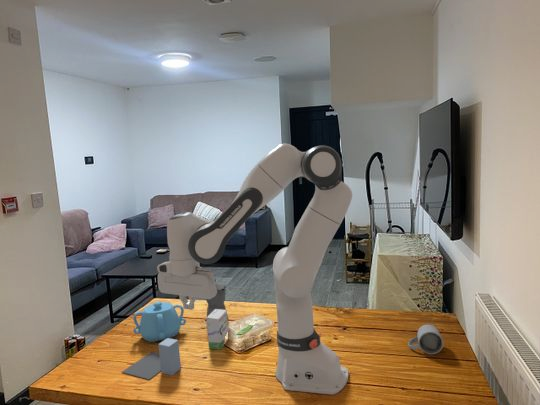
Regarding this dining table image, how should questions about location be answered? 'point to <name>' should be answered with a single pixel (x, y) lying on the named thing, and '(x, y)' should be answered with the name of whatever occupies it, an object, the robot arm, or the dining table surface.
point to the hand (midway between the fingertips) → (189, 308)
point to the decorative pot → (159, 321)
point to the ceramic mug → (427, 340)
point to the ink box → (217, 328)
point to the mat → (145, 366)
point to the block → (169, 356)
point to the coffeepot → (217, 299)
